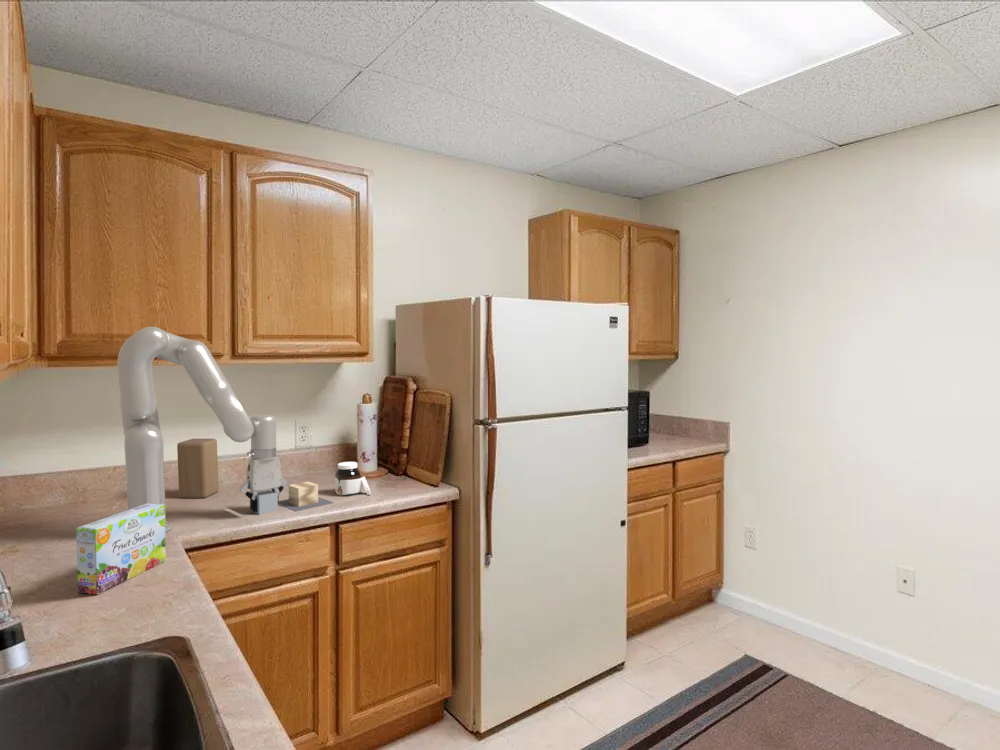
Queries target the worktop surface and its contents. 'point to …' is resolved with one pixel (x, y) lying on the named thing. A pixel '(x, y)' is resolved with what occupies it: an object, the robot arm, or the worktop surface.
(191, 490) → the block
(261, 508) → the grey cube
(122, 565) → the snack box
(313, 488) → the base block
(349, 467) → the spread jar
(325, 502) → the build mat
